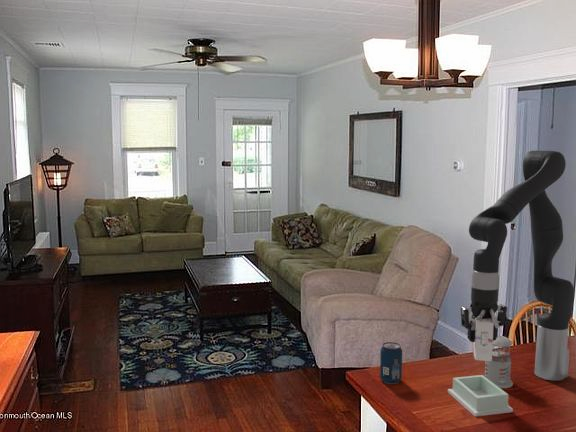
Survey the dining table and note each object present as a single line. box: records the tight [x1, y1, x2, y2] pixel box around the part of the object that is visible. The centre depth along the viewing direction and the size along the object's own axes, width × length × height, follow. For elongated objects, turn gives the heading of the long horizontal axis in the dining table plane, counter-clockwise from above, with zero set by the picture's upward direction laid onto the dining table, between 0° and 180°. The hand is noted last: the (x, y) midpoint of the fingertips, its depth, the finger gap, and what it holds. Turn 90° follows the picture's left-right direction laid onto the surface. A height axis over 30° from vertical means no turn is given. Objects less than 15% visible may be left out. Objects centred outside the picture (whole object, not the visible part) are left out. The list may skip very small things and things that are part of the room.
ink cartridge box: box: [471, 309, 494, 362], centre depth 171 cm, size 9×5×15 cm, turn 169°
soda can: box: [379, 341, 403, 385], centre depth 188 cm, size 7×7×12 cm
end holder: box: [447, 374, 514, 417], centre depth 174 cm, size 12×16×5 cm
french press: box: [483, 327, 514, 389], centre depth 187 cm, size 10×12×25 cm
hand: (482, 340), depth 172 cm, fingers closed on ink cartridge box, 6 cm apart
